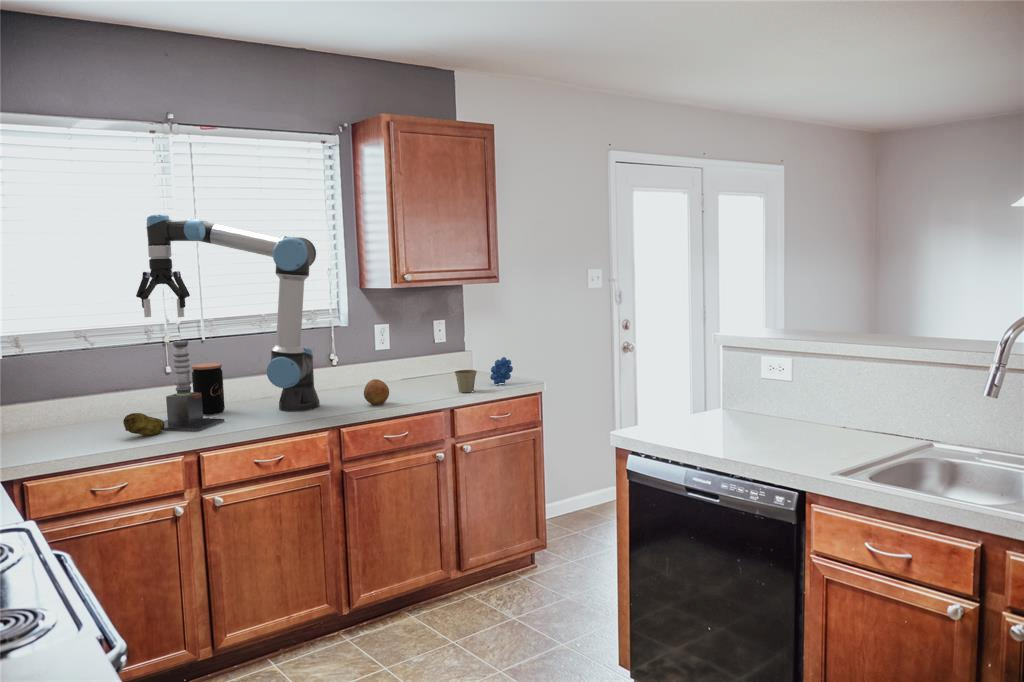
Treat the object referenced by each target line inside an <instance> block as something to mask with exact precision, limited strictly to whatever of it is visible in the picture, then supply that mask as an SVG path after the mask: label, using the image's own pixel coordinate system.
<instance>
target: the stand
mask: <svg viewBox="0 0 1024 682" xmlns="http://www.w3.org/2000/svg"><path fill="white" fill-rule="evenodd" d="M191 392H192V395H188V396H176V393H172V394H169V395H166V396H165V400H166V415H167V419H165V420H162V421H163V422H164V429H163V432H164V431H171V432H192V433H193V432H197V433H198V432H200V431H203V429H204V430H207V429H209V428H211V426H212V427H214V426H217V425H220V424H222V423H224V422H226V420H225V418H213V417H212V418H211V417H207V418H206V417H204V415H203V408H202V393H199V392H193V391H191ZM219 423H220V424H219ZM216 424H217V425H216ZM213 425H214V426H213ZM208 427H209V428H208Z"/></svg>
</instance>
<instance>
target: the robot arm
mask: <svg viewBox="0 0 1024 682" xmlns="http://www.w3.org/2000/svg"><path fill="white" fill-rule="evenodd" d="M146 232H147V233H146V236H147V249H148V251H147V253H148V257H149V258H150V259H148V263H149V266H148V267H149V269H150V272H149V271H143V272H142V275H141V276H142V278H141V281H140V284H139V286H138V289H137V291H136V294H135V295H136V296H135V297H136V298H139V299H141V307H142V309H143V313H144V318H151V317H152V308H151V299H150V298H149V297H150V296H151V294H152V292H153V291H154V289H155V288H156V287H157V286H158V285H167V286H168V287H169V288H170V290H171V291H172V292H173V293H174V294H175V296H177V298H176V309H177V318H184V317H185V308H186V298H189V297H191V294H190V292H189V290H188V289H187V287H186V285H185V283H184V281H183V278H182V275H181V271H179V270H177V271H175V270H174V271H173V259H172V258H171V257H172V246H171V245H172V243H171V242H201V243H206V244H210V245H215V246H222V247H227V248H229V249H235V250H240V251H243V252H248V253H253V254H257V255H262V256H267V257H270V258H272V259H273V262H274V264H275V275H276V276H277V277H278V279H279V284H278V286H279V287H278V299H277V300H278V301H277V304H278V305H277V323H276V340H275V345H274V346H273V347H272V348H271V351H270V353H271V355H270V361H269V362H268V365H267V367H266V376H267V380H268V381H269V382H270V383H271V384H272V385H273V386H274V387H277V388H281V389H282V390H281V393H280V397H279V402H278V409H279V410H280V411H285V412H300V411H310V410H315V409H317V408H320V406H321V404H320V403H321V402H320V399H319V396H318V393H317V390H316V388H315V379H314V375H315V374H314V354H313V350H312V348H310V347H302V346H301V345H302V344H301V342H302V328H303V327H302V324H303V312H304V311H303V310H304V309H303V308H304V292H305V289H304V288H305V280H306V279H308V277H309V276H310V267H311V266H312V265H313V264H314V263H315V261H316V258H317V249H316V247H315V245H314V244H313V242H312V241H310V239H308V238H305V237H300V236H299V237H295V236H286V235H285V236H282V237H278V236H273V235H268V234H263V233H259V232H255V231H249V230H245V229H239V228H236V227H231V226H227V225H222V224H216V223H212V222H208V221H206V220H201V219H194V218H193V219H192V218H191V219H171V218H170V216H169V215H168V214H148V215H146Z"/></svg>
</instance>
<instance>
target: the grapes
mask: <svg viewBox="0 0 1024 682" xmlns="http://www.w3.org/2000/svg"><path fill="white" fill-rule="evenodd" d="M513 369H514V367H513V366H512V360H511V359H507V357H505V356H502V357H501V358H500V359H497V360H495V362H494V365H493V366H491V368H490V372H491V375H490V380H491V381H493V384H494V385H495V384H498V385H500V383H504V384H506V381H508V380H510V379H511V377H512V376H511V373H512V372H513Z"/></svg>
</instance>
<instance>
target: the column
mask: <svg viewBox="0 0 1024 682" xmlns="http://www.w3.org/2000/svg"><path fill="white" fill-rule="evenodd" d="M188 345H189V340H174V341H172V346H173V358H174V359H173V362H174V365H173V368H174V370H175V371H174V374H175V381H176V382H175V386H176V387H175V391H176V393H175V394H176V396H188V395H192V392H193V391H192V386H191V384H192V380H191V377H190V373H191V370H190V367H191V365H190V357H189V356H190V352H189V351H188V350H189V347H188Z"/></svg>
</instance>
